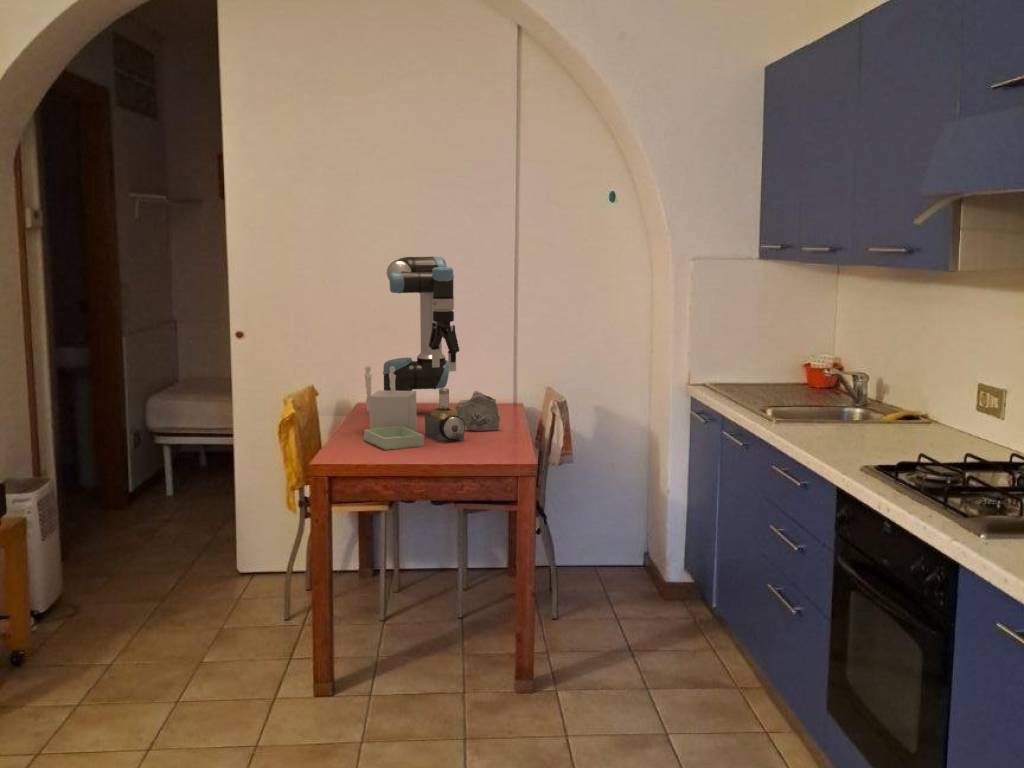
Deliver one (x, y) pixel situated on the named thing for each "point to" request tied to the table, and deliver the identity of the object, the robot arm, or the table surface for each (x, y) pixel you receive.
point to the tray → (394, 437)
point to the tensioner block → (444, 425)
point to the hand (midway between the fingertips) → (443, 369)
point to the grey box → (390, 405)
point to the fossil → (479, 412)
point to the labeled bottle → (443, 399)
